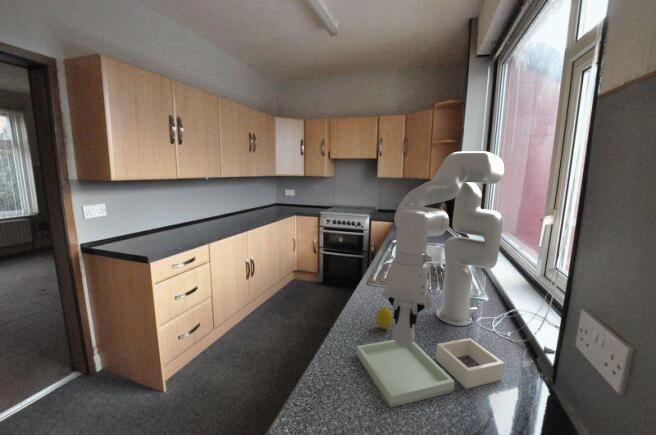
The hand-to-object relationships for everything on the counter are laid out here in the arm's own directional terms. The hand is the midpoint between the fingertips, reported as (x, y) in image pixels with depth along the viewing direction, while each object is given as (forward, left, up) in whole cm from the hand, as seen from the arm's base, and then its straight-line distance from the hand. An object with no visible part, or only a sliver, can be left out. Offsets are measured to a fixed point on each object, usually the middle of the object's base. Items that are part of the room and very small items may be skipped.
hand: (404, 323), depth 77 cm
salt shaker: (0, 0, -6) cm, 6 cm away
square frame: (-19, +4, -15) cm, 24 cm away
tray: (0, 0, -15) cm, 15 cm away
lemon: (-6, -21, -15) cm, 26 cm away
